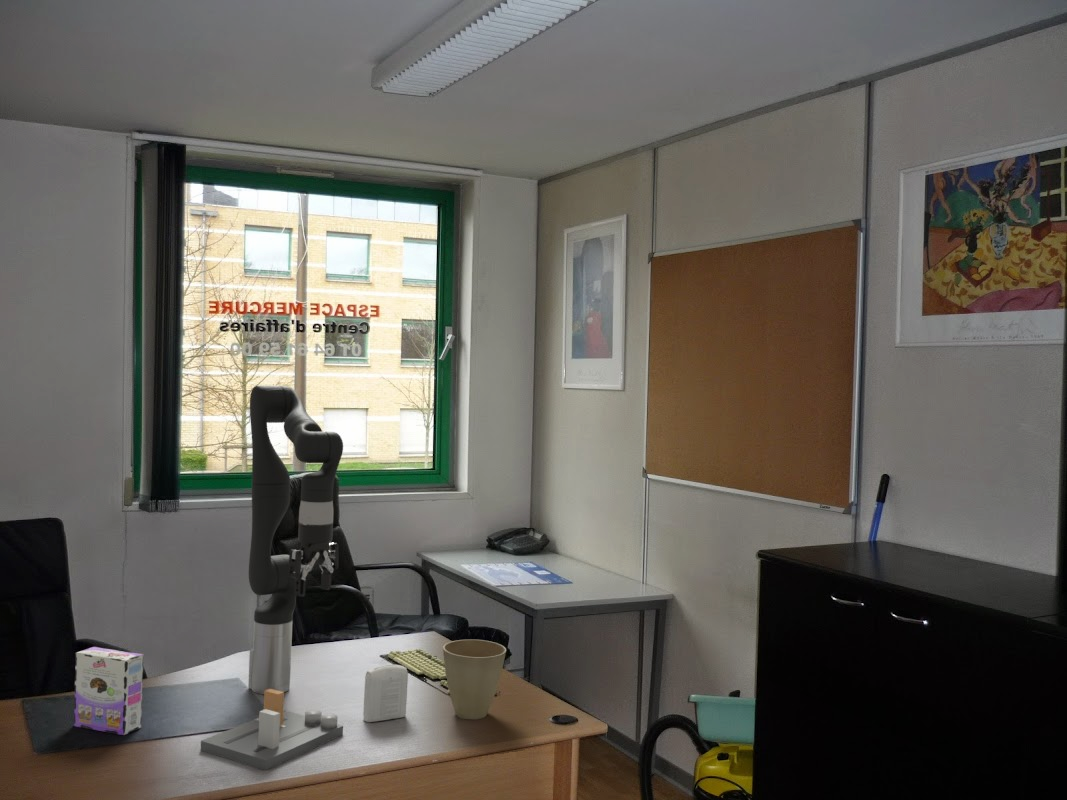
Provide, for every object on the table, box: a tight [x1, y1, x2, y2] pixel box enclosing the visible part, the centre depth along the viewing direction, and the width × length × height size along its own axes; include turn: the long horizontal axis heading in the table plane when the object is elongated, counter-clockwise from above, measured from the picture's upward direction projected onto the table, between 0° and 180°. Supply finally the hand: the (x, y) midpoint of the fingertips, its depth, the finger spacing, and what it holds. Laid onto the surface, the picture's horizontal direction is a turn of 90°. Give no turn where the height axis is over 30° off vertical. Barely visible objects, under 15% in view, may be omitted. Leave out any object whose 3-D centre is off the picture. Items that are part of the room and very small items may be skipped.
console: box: [200, 709, 344, 771], centre depth 219 cm, size 18×24×9 cm
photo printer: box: [362, 663, 409, 723], centre depth 237 cm, size 10×4×12 cm, turn 123°
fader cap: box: [263, 689, 285, 725], centre depth 224 cm, size 4×2×7 cm, turn 62°
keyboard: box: [379, 648, 501, 697], centre depth 272 cm, size 45×15×2 cm, turn 35°
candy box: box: [73, 646, 144, 736], centre depth 223 cm, size 14×6×16 cm, turn 71°
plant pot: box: [442, 639, 507, 720], centre depth 242 cm, size 15×15×16 cm
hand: (313, 592), depth 229 cm, fingers open, 8 cm apart
